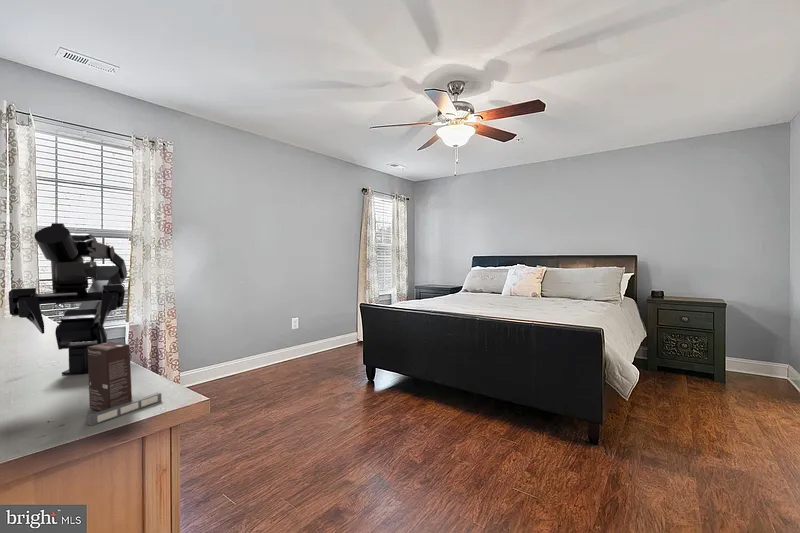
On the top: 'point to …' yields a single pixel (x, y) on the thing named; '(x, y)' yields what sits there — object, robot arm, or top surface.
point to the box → (109, 375)
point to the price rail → (123, 409)
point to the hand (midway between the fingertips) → (73, 329)
